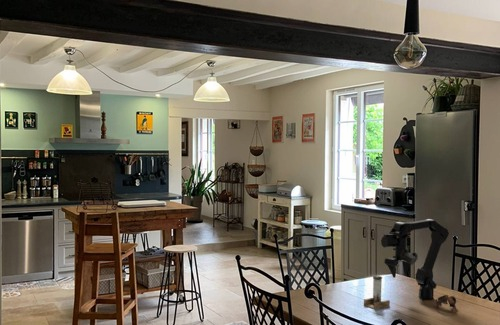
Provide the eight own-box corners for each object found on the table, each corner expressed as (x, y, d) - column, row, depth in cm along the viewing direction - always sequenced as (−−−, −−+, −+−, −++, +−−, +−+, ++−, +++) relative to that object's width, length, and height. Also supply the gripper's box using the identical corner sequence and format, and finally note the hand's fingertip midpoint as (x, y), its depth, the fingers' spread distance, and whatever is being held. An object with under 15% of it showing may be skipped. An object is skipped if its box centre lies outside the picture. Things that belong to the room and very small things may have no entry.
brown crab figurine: (452, 315, 239) (443, 299, 241) (437, 319, 246) (428, 303, 248) (465, 305, 246) (456, 289, 248) (450, 308, 254) (441, 293, 255)
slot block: (377, 302, 257) (377, 296, 257) (389, 306, 250) (389, 300, 250) (363, 305, 251) (363, 299, 251) (375, 309, 244) (376, 303, 244)
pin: (380, 303, 252) (381, 276, 252) (381, 306, 248) (382, 278, 248) (372, 303, 253) (372, 275, 253) (372, 305, 249) (373, 277, 249)
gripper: (401, 250, 247) (400, 282, 247) (425, 247, 257) (424, 277, 258) (383, 247, 256) (383, 277, 256) (407, 244, 266) (406, 273, 267)
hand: (400, 276), depth 259 cm, fingers open, 9 cm apart
